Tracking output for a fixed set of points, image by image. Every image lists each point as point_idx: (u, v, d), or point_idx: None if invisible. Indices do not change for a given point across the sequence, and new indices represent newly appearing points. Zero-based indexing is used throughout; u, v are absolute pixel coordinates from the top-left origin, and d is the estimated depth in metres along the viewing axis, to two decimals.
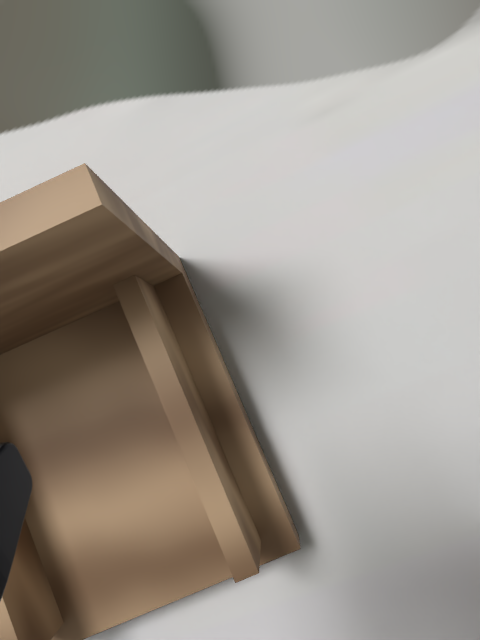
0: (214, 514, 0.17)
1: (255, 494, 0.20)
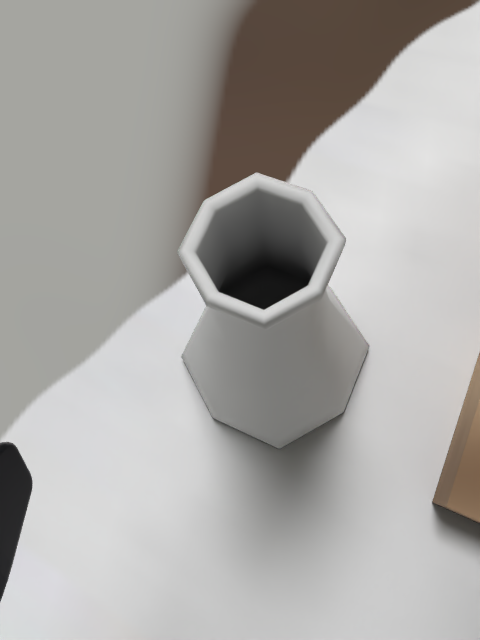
0: None
1: None
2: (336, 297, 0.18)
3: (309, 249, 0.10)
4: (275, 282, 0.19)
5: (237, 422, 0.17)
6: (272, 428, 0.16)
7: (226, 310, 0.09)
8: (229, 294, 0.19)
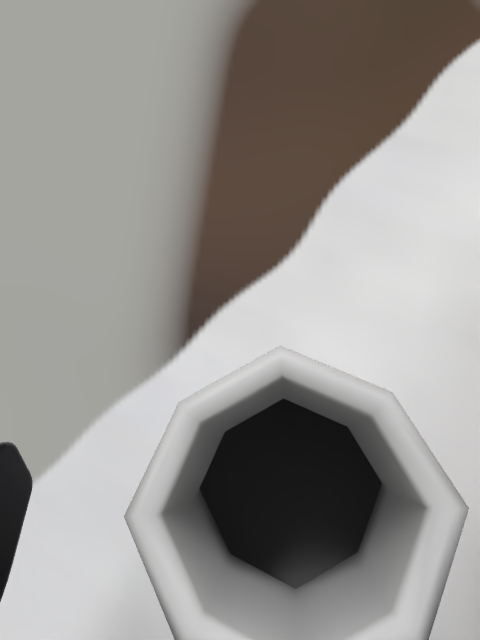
0: None
1: None
2: None
3: (371, 456, 0.06)
4: None
5: None
6: None
7: None
8: None
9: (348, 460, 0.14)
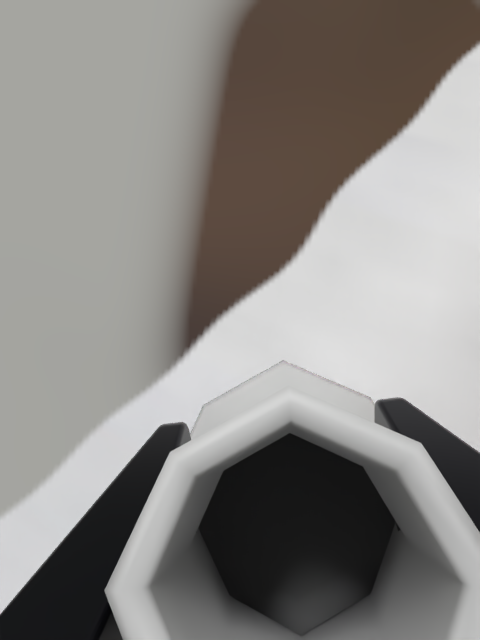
0: None
1: None
2: None
3: (390, 504, 0.05)
4: None
5: None
6: None
7: None
8: None
9: (354, 477, 0.13)
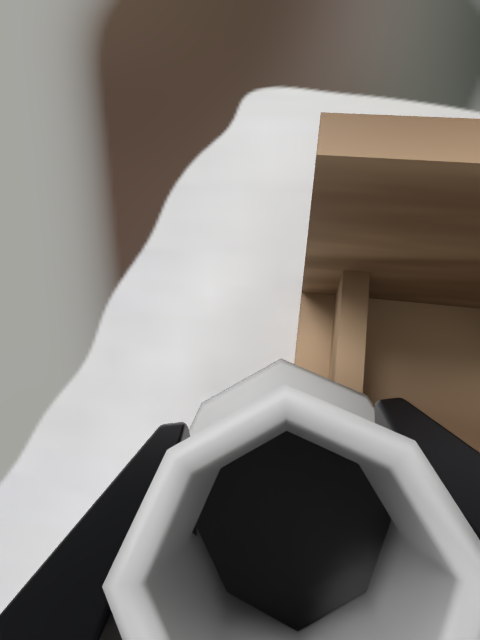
0: None
1: None
2: None
3: (385, 501, 0.05)
4: None
5: None
6: None
7: None
8: None
9: (351, 475, 0.13)
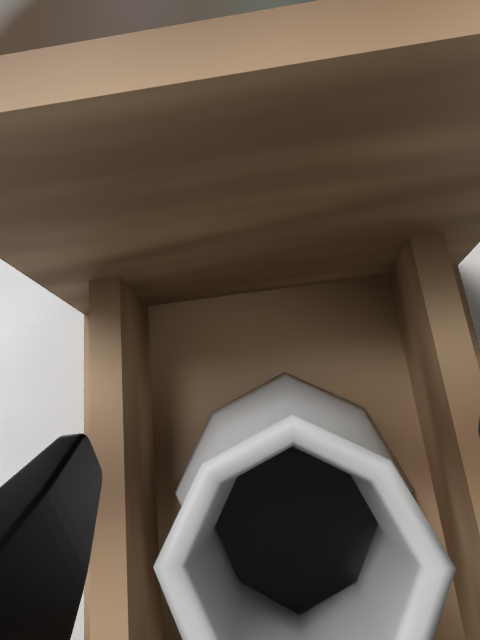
0: None
1: None
2: (372, 426, 0.14)
3: (371, 505, 0.06)
4: None
5: None
6: None
7: None
8: None
9: (348, 480, 0.14)
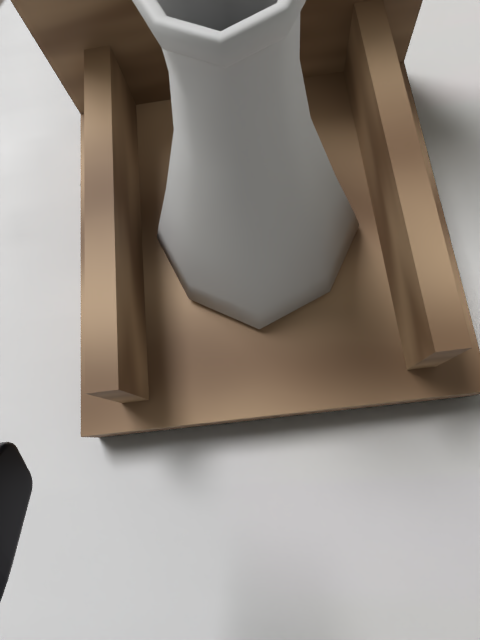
0: (424, 261, 0.13)
1: None
2: None
3: None
4: None
5: (214, 298, 0.15)
6: (250, 296, 0.14)
7: (176, 31, 0.07)
8: None
9: None
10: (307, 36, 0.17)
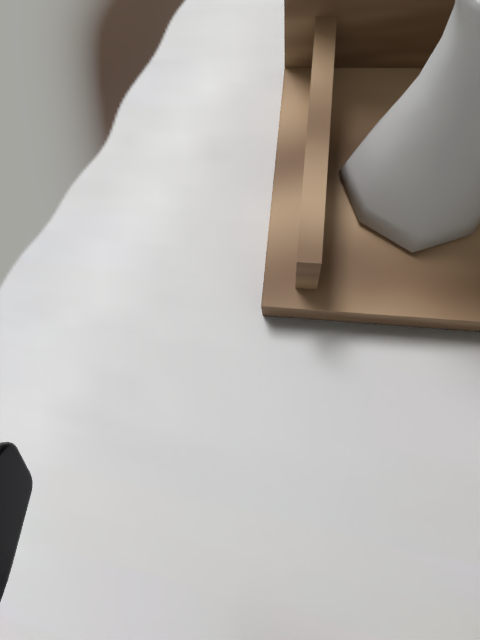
0: None
1: None
2: None
3: None
4: None
5: (383, 221, 0.20)
6: (419, 221, 0.19)
7: None
8: None
9: None
10: None
